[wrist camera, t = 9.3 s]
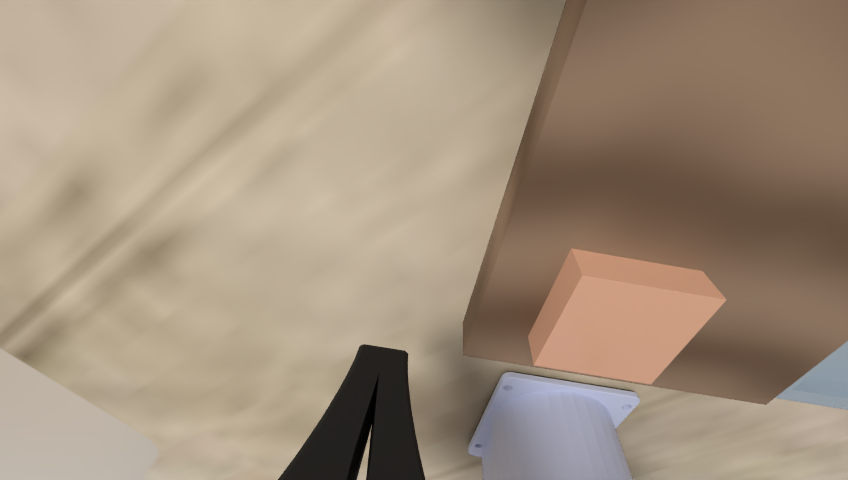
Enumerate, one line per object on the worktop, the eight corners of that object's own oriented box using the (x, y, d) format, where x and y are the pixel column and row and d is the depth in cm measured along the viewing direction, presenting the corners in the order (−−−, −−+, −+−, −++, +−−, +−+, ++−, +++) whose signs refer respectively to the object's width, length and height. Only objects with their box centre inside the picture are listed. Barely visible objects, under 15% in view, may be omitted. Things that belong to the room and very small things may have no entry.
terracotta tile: (636, 354, 17) (650, 384, 15) (528, 336, 16) (533, 365, 15) (702, 271, 14) (726, 299, 12) (571, 248, 13) (582, 275, 12)
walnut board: (740, 369, 20) (766, 404, 18) (462, 323, 19) (463, 355, 17) (1216, -65, 9) (1381, -75, 7) (626, -188, 9) (666, -227, 7)
